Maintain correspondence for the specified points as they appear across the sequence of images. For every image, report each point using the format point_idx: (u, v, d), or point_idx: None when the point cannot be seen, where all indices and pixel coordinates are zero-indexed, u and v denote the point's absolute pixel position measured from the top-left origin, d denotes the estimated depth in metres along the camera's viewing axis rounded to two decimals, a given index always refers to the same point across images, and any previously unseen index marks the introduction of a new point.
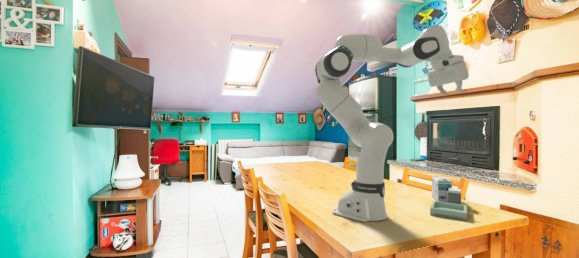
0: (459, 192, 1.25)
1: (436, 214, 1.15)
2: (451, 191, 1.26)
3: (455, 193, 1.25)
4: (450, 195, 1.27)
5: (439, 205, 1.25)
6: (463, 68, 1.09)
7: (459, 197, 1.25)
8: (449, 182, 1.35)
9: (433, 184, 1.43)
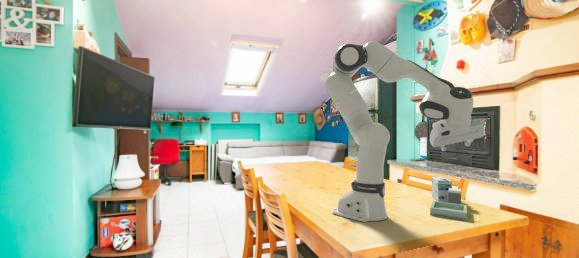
0: (459, 192, 1.25)
1: (436, 214, 1.15)
2: (451, 191, 1.26)
3: (455, 193, 1.25)
4: (450, 195, 1.27)
5: (439, 205, 1.25)
6: (432, 138, 1.14)
7: (459, 197, 1.25)
8: (449, 182, 1.35)
9: (433, 184, 1.43)
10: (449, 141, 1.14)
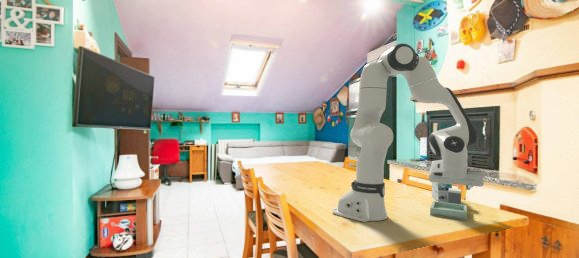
0: (459, 192, 1.25)
1: (436, 214, 1.15)
2: (451, 191, 1.26)
3: (455, 193, 1.25)
4: (450, 195, 1.27)
5: (439, 205, 1.25)
6: (429, 174, 1.21)
7: (459, 197, 1.25)
8: None
9: (433, 184, 1.43)
10: (445, 181, 1.18)
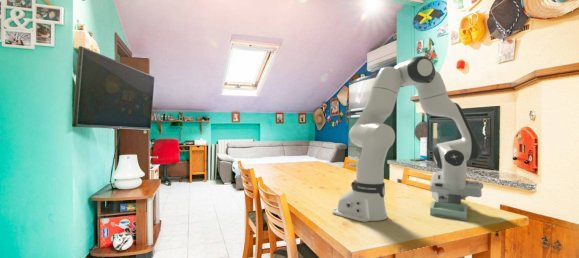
0: None
1: (436, 214, 1.15)
2: None
3: None
4: (450, 195, 1.27)
5: (439, 205, 1.25)
6: (430, 184, 1.27)
7: (459, 197, 1.25)
8: None
9: None
10: (445, 191, 1.25)
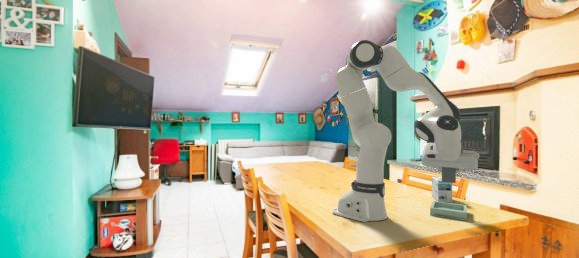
0: None
1: (436, 214, 1.15)
2: None
3: None
4: (443, 168, 1.16)
5: (439, 205, 1.25)
6: (422, 157, 1.17)
7: (453, 170, 1.15)
8: None
9: (433, 184, 1.43)
10: (438, 164, 1.15)
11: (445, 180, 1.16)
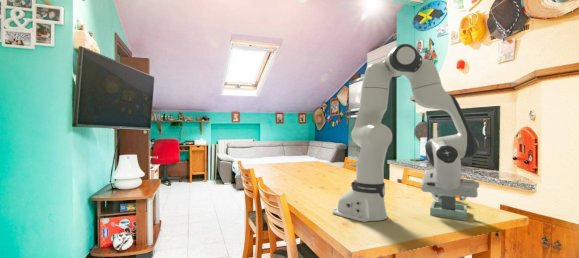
0: (453, 195, 1.15)
1: (436, 214, 1.15)
2: (444, 194, 1.16)
3: (449, 196, 1.15)
4: (443, 198, 1.17)
5: (439, 205, 1.25)
6: None
7: (453, 201, 1.15)
8: None
9: None
10: (438, 191, 1.15)
11: None
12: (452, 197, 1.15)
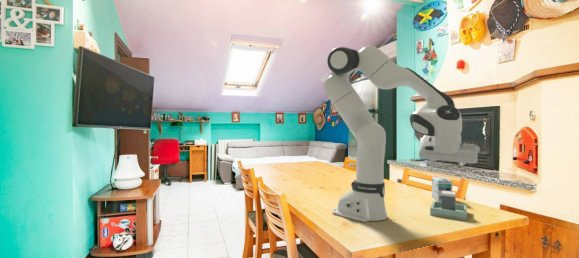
0: (453, 195, 1.15)
1: (436, 214, 1.15)
2: (444, 194, 1.16)
3: (449, 196, 1.15)
4: (443, 198, 1.17)
5: (439, 205, 1.25)
6: None
7: (453, 201, 1.15)
8: (449, 182, 1.35)
9: (433, 184, 1.43)
10: (436, 157, 1.10)
11: None
12: (452, 197, 1.15)
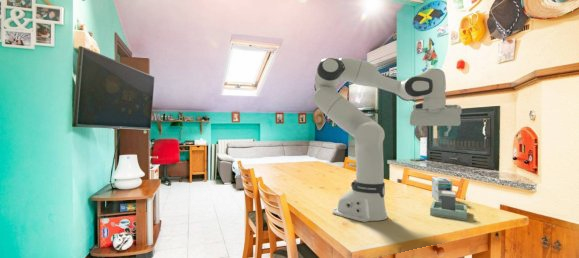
0: (453, 195, 1.15)
1: (436, 214, 1.15)
2: (444, 194, 1.16)
3: (449, 196, 1.15)
4: (443, 198, 1.17)
5: (439, 205, 1.25)
6: None
7: (453, 201, 1.15)
8: (449, 182, 1.35)
9: (433, 184, 1.43)
10: (425, 121, 1.23)
11: None
12: (452, 197, 1.15)
